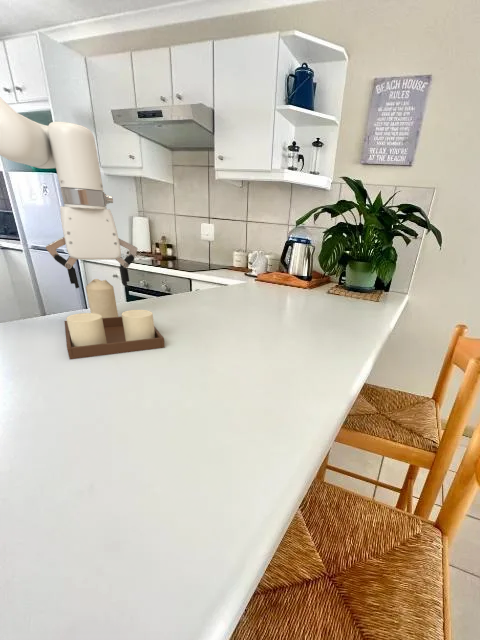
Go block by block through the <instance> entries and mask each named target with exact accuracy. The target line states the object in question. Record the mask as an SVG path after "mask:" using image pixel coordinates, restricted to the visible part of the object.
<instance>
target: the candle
mask: <svg viewBox="0 0 480 640" xmlns="http://www.w3.org/2000/svg"><path fill="white" fill-rule="evenodd" d="M85 290H86V296H87V300H88V305H89V311H90V313H95V314H99V315H101V316H102V318H110V317H119V313H118V305H117V300H116V295H115V289H114V285H112V284H111V283H110V282H108V281H107V279H103V280H101V279H99V278H95V279H92V280H91V281H90V282H89V283H88V284H87V285H86V286H85Z"/></svg>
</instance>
